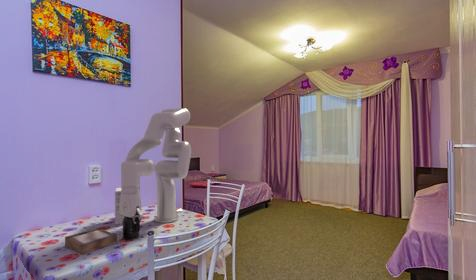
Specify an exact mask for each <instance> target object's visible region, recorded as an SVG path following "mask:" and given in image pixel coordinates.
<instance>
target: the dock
mask: <svg viewBox="0 0 476 280" xmlns="http://www.w3.org/2000/svg"><path fill="white" fill-rule="evenodd" d="M117 243H118V233H112V232H110V231H108V230H106V229H102V227H96V228H92V229H88V230H85V231H81V232H78V233H74V234H71V235H67V236H64V246H65V247H67V248H68V249H70V250H72V251H73V252H75V253H77V254H79V255H81V256H82V255H85V254H88V253H91V252H93V251H97V250H99V249H102V248H106V247H108V246H111V245H114V244H117Z"/></svg>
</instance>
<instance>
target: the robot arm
mask: <svg viewBox="0 0 476 280" xmlns="http://www.w3.org/2000/svg"><path fill="white" fill-rule="evenodd" d="M190 120H191V112H190V111H189V110H188V109H187V108H185V107H184V108H183V107H182V108H164V109H162V110H161V111H160V112H155V113H153V114H152V116H151V117H150V119H149V123H148V125H147V127H146V131H145V133H144V134H143V135H144V136H143V137H142V138H141V139H140V140H138V141H137V142H136V143H135V144H134V145H133V146H132V147H131V149H130V150H129V151H128V153H127V155H126V158H125V160H124V161H123V162H121V164H120V188H121V195H120V207H119V212H120V214H121V216H122V221H123V218H124V217H125V216H126V217H129V218H132V219H133V224H132V228H133V233H136V232H139V233H140V230H141V222H142V219H143V217H144V214H143V213H142V199H141V177H146V176H147V177H148V176H150V175H151V176H152V175H153V174H154V173H155V176H156V200H157V201H156V202H157V203H156V207H157V209H156V210H157V211H156V216H155V217H154V218H153V220H154V222H155V223H158V224H160V223H162V224H165V223H169V224H170V223H174V222H176V221H178V220H179V218H180V217H179V215H178V214H180V213H183V209H182V208H179V209H177V208H176V206H177V205H176V204H177V203H176V201H177V200H176V199H177V198H176V196H177V195H176V189H177V187H176V184H175V183H176V182H175V180H174V179H177V180H183V179H185V178H186V177H187V176H188V173H189V169H190V162H191V156H192V147H191V144H190V142H188V141H183V140H181V138H182V132H181V130H180V128H182V127H183V126H185V125H187V124H188V123H189V122H190ZM163 137H164V138H163ZM163 139H164V140H163ZM162 140H163V144H162V149H161V150H162V152H161V153H162V157H164V158H166V160H165V159H163V160H160V161H158V162H157V163H155V162H154V161H153V160H152V159H147V158H146V159H145V158H141V157H142V155H143V154H145V153H146V152H148V151H149V150H151V149H153V148H156V147H157V146H159V145H161V143H162ZM171 159H175V160H171ZM176 159H177V160H176ZM135 214H136V216H135ZM135 217H137V219H136V220H135Z"/></svg>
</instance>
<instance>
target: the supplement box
mask: <svg viewBox="0 0 476 280" xmlns="http://www.w3.org/2000/svg"><path fill="white" fill-rule="evenodd" d="M120 195H121V187H116V188H115V191H114V220H115V221H114V224H115V225H123V221H122V216H121V214H120V212H119V207H120Z"/></svg>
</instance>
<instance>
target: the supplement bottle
mask: <svg viewBox="0 0 476 280" xmlns="http://www.w3.org/2000/svg"><path fill="white" fill-rule="evenodd" d="M135 216H136V214H135ZM136 219H137V217H135V220H136ZM132 224H133V219H132V218H129V217H126V216H125V217H124V218H123V224H122V239H123V240H125V241H131V240H136V239H139V237H140V231H139V232H136V233H133V228H132Z"/></svg>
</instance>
